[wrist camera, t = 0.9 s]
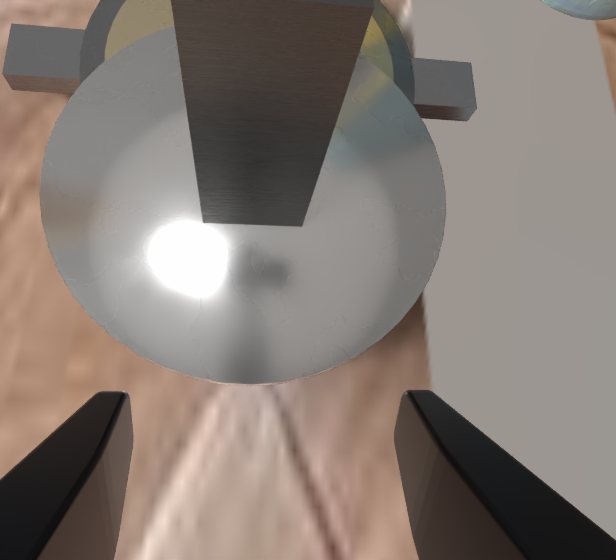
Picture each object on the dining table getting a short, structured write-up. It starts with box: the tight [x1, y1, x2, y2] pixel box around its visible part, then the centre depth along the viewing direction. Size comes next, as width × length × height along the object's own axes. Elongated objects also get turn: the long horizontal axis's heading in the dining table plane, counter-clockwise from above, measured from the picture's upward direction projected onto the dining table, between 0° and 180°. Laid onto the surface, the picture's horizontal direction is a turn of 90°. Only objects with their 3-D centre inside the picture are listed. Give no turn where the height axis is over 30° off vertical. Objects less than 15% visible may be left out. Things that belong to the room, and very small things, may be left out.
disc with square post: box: [40, 0, 446, 386], centre depth 14 cm, size 15×15×11 cm
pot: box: [2, 0, 477, 121], centre depth 23 cm, size 14×20×3 cm
